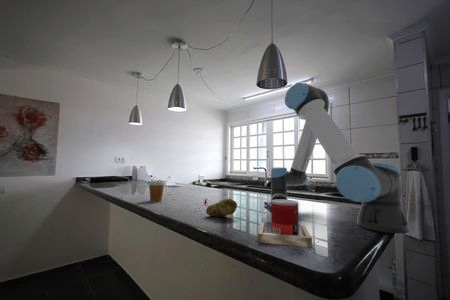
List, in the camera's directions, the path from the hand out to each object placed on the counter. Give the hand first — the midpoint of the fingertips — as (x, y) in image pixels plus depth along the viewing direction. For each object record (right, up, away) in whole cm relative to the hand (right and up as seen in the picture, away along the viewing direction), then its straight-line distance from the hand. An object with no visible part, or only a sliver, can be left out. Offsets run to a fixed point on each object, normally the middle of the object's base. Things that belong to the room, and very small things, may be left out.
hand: (281, 214), depth 68 cm
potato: (-20, -8, +20) cm, 29 cm away
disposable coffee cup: (-61, -10, +58) cm, 84 cm away
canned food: (0, -6, -5) cm, 7 cm away
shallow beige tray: (-1, -6, -3) cm, 7 cm away
